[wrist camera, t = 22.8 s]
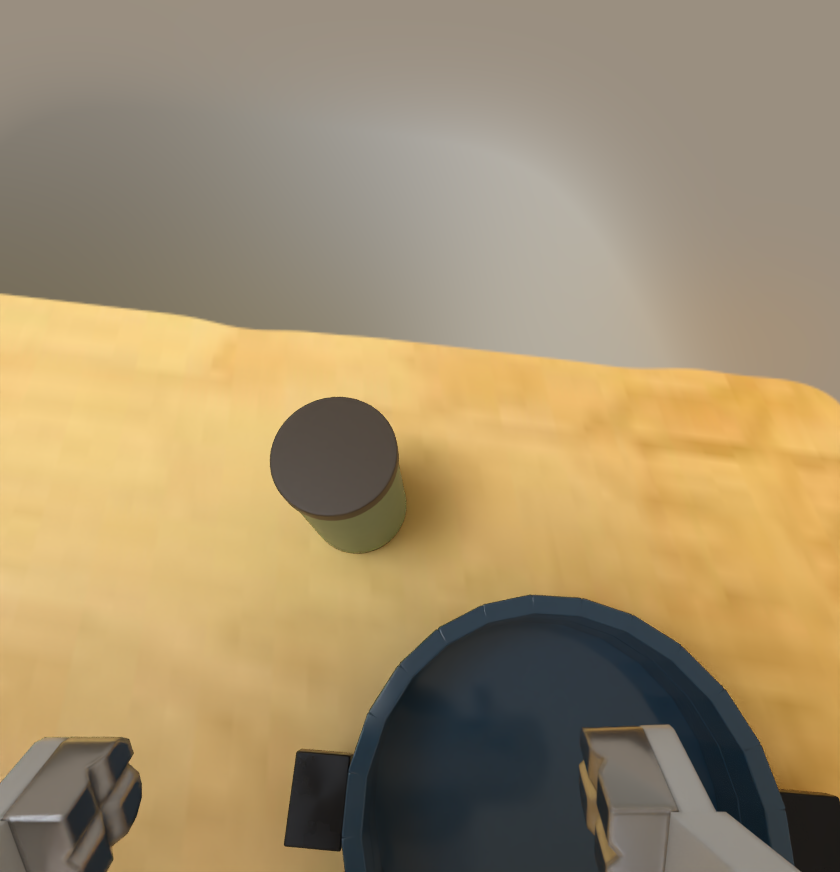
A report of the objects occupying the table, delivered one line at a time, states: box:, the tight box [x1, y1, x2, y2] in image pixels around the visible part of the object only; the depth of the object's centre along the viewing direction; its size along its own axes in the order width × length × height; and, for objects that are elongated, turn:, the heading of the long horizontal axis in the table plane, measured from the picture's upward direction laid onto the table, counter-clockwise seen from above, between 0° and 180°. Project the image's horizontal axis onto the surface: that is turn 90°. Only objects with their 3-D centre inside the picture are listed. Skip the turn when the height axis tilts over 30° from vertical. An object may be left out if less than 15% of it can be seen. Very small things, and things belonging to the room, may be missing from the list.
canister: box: [270, 397, 406, 553], centre depth 27 cm, size 5×5×8 cm
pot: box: [341, 595, 795, 872], centre depth 23 cm, size 17×17×4 cm
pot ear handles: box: [284, 749, 840, 872], centre depth 22 cm, size 21×3×1 cm, turn 86°
